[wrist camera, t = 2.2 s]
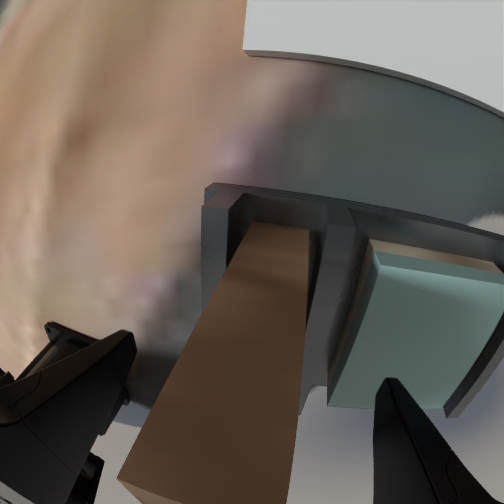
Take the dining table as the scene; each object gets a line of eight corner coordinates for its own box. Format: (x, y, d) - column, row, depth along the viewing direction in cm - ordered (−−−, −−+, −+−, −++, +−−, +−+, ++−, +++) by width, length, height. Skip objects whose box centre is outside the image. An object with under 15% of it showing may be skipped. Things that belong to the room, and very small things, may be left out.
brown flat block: (241, 360, 13) (183, 537, 5) (252, 221, 10) (116, 478, 2) (282, 367, 13) (245, 551, 5) (309, 229, 10) (282, 523, 2)
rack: (211, 353, 15) (193, 395, 12) (213, 182, 11) (182, 204, 8) (453, 378, 13) (466, 416, 10) (522, 240, 9) (556, 270, 7)
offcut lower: (327, 373, 13) (327, 389, 12) (369, 238, 10) (374, 250, 9) (432, 379, 12) (436, 393, 11) (492, 262, 9) (503, 273, 8)
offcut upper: (327, 388, 12) (327, 406, 11) (374, 250, 9) (380, 264, 8) (436, 393, 11) (440, 408, 10) (503, 273, 8) (515, 286, 7)
